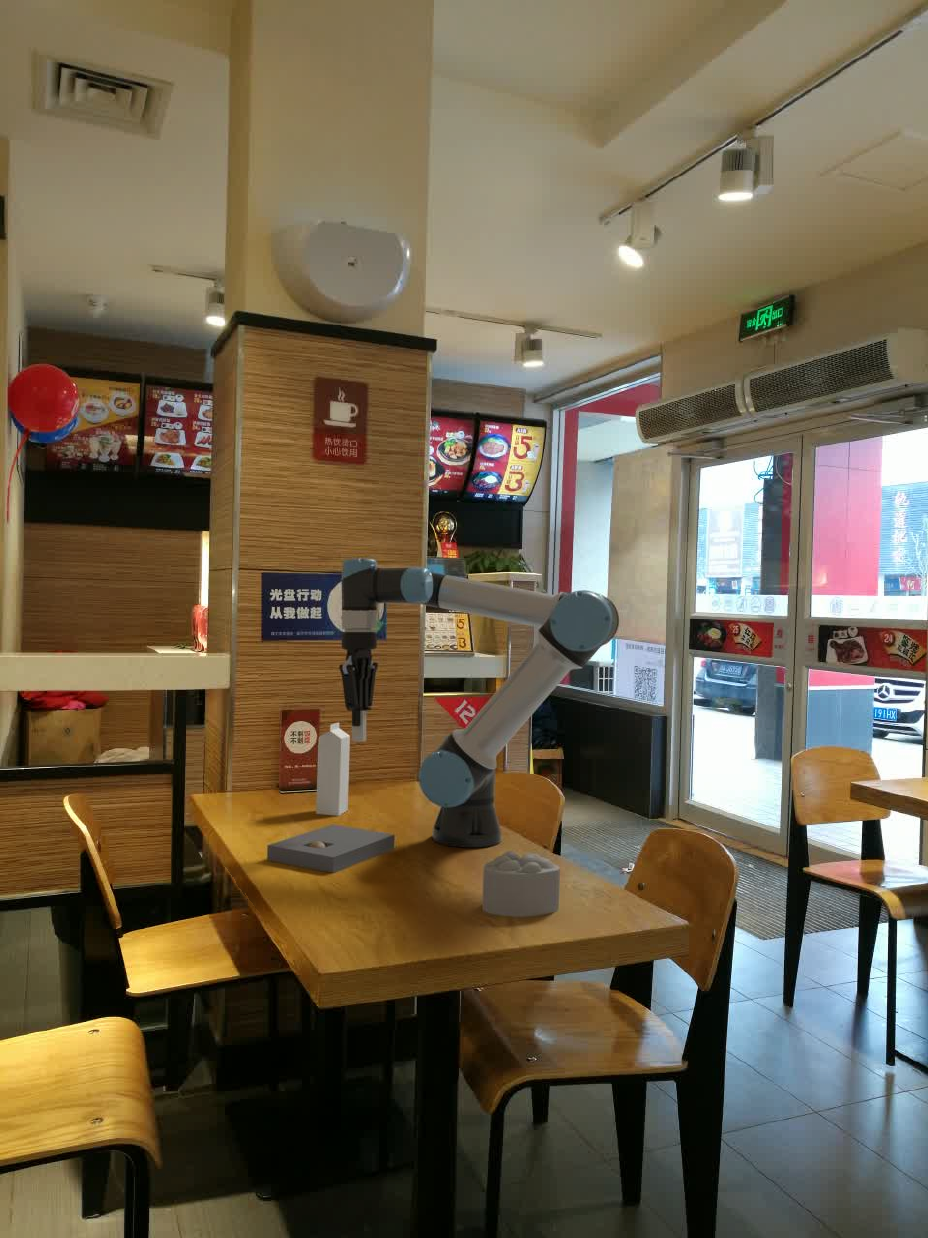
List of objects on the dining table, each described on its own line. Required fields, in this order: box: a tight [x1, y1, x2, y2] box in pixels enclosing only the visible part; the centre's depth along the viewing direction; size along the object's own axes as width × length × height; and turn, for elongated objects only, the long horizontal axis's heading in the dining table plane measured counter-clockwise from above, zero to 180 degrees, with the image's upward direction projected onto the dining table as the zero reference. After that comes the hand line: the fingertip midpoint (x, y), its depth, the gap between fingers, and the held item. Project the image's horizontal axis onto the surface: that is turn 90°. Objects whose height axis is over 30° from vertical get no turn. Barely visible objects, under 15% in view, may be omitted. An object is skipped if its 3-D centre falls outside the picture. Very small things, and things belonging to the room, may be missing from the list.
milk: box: [315, 722, 351, 817], centre depth 230 cm, size 6×6×22 cm
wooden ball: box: [309, 841, 325, 849], centre depth 187 cm, size 4×4×4 cm
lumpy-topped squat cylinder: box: [481, 850, 561, 918], centre depth 161 cm, size 10×13×9 cm
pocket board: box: [266, 824, 396, 874], centre depth 191 cm, size 16×22×3 cm
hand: (359, 741), depth 200 cm, fingers closed
